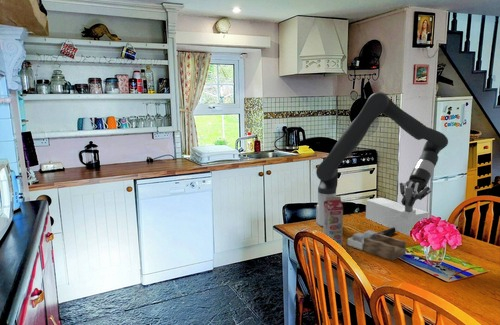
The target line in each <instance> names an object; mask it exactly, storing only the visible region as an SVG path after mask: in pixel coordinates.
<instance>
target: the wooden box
mask: <svg viewBox="0 0 500 325" xmlns="http://www.w3.org/2000/svg"><path fill="white" fill-rule="evenodd" d="M378 233H379V232H377V241H375V240H371V239H368V238H364V250H363V251H364V252H366V253H370V254H372V255H376V256H377V257H381V258H384V259H386V260H389V261H395V260H397V259H399V258H401V257H403V256H405V255H406V253H407V241H406V240H402V239H399V238H395V237H391V236H385V235H382V234H378Z"/></svg>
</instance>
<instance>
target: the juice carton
mask: <svg viewBox="0 0 500 325" xmlns="http://www.w3.org/2000/svg"><path fill="white" fill-rule="evenodd" d="M341 199H342V198H341V196H336V197H326V201H325V202H324V217H323V226H322V230H323V231H322V232H323V233H324V234H326V235H327V236H329V237H330V238H332V239H333V240H335V241H336V242H337V243H339V244H340V245H341V246H342V247H343V226H344V218H343V217H344V205H343V203H342V201H341ZM323 233H322V234H323Z"/></svg>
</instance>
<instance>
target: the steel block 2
mask: <svg viewBox="0 0 500 325" xmlns="http://www.w3.org/2000/svg"><path fill="white" fill-rule="evenodd" d="M377 233H378V232H376V231H373V230H366V231H364V232H363V234H364V238H368V239H371V240H375V241H377Z"/></svg>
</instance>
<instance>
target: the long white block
mask: <svg viewBox="0 0 500 325" xmlns="http://www.w3.org/2000/svg"><path fill="white" fill-rule="evenodd" d="M413 209H414V210H416V216H414V217H412V218H410V219H406V218H402V212H403V211H405V206H404V205H402V203H399V202H396V201H393V200H390V199H388V198H384V197H376V198H370V199H366V200H365V219H367V220H369V219H370V220H369V221H371V220H372V222H374V223H376V222H377V224H379V225H381V224H382V225H381V226H383V227H387V228H388V227H389V228H388V229H391V228H395V232H399V233H401V234H403V235H405V236H408V237H410V231H411V230H412V228H413V227H414V225H415V224H416V223H417V222H418V221H420V220H422V219H423V218H428V219H429V217H430V212H428V211H425V210H422V209H419V208H416V207H413Z"/></svg>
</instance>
